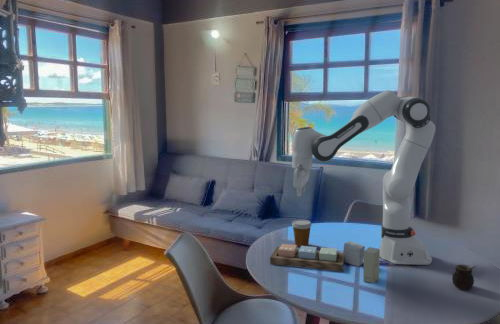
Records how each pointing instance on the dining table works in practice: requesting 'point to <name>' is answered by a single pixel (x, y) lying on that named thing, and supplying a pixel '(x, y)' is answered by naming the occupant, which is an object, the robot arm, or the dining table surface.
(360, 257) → the medicine box
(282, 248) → the tile three
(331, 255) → the tile one
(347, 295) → the dining table surface
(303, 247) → the tile two
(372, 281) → the skincare box
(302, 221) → the disposable coffee cup
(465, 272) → the mate gourd
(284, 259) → the key frame
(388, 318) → the dining table surface
